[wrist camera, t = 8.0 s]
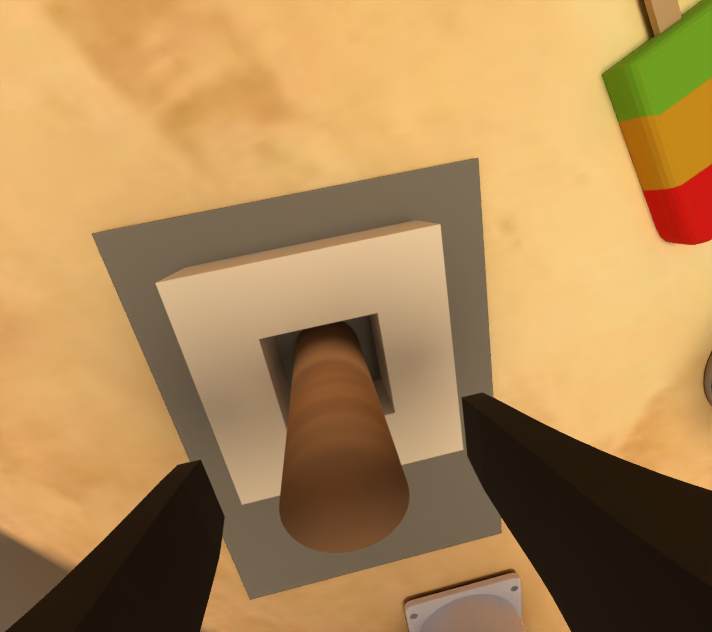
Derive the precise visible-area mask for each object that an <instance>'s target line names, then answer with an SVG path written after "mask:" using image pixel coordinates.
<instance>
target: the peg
mask: <svg viewBox="0 0 712 632" xmlns="http://www.w3.org/2000/svg"><path fill="white" fill-rule="evenodd" d="M409 497H410V493H409V487H408V483H407V480H406V477H405V474H404V471H403V468H402V465H401V462H400V459H399V456H398V454H397V451H396V448H395V445H394V442H393V439H392V436H391V433H390V430H389V427H388V424H387V422H386V419H385V416H384V413H383V410H382V407H381V404H380V401H379V398H378V395H377V392H376V390H375V387H374V384H373V381H372V378H371V375H370V372H369V369H368V366H367V363H366V360H365V358H364V355H363V352H362V349H361V346H360V343H359V340H358V337H357V335H356V333H355V331H354V330H353V329H352V327H350V326H349V325H348V324H347V323H345V322H343V321H339V322H334V323H330V324H325V325H321V326H316V327H311V328H307V329H303V330H302V331H301V332H300V334H299V336H298V338H297V341H296V349H295V358H294V368H293V377H292V387H291V396H290V406H289V415H288V425H287V435H286V444H285V454H284V463H283V473H282V482H281V492H280V501H279V514H280V518H281V522H282V524H283V526H284V528H285V529H286V531H287V532H288V533H289V535H290V536H291V537H292V538H293V539H295V540H296V541H297V542H299V543H300V544H302V545H304V546H306V547H308V548H310V549H313V550H317V551H321V552H326V553H346V552H353V551H357V550H361V549H364V548H367V547H369V546H372V545H374V544H376V543H377V542H379V541H381V540H382V539H384V538H385V537H387V536H388V535H389V534H390V533H391V532H393V531H394V529H395V528H396V527H397V526H398V525H399V524H400V522H401V521H402V519H403V517H404V516H405V514H406V511H407V509H408V505H409Z"/></svg>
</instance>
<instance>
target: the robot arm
mask: <svg viewBox="0 0 712 632" xmlns="http://www.w3.org/2000/svg"><path fill="white" fill-rule="evenodd" d="M462 407H463V418H464V428H465V438H466V448H467V457H468V459H469V461H470V463H471V465H472V467H473V469H474V471H475V473H476V475H477V477H478V479H479V481H480V483H481V485H482V487H483V489H484V491H485V492H486V494H487V496H488V497H489V499H490V500H491V502H492V503H493V505H494V507H495V508H496V510H497V511H498V513H499V514H500V516H501V517H502V519H503V521H504V522H505V524H506V525H507V527H508V528H509V530H510V531H511V533H512V534H513V536H514V537H515V539H516V540H517V542H518V543H519V545H520V547H521V548H522V550H523V551H524V553H525V554H526V556H527V557H528V559H529V560H530V562H531V563H532V565H533V566H534V568H535V570H536V571H537V573H538V574H539V576H540V577H541V579H542V581H543V582H544V584H545V586H546V587H547V589H548V591H549V592H550V594H551V595H552V597H553V599H554V601H555V603H556V604H557V606H558V608H559V610H560V612H561V614H562V615H563V617H564V619H565V621H566V623H567V625H568V626H569V628H570V630H571V632H712V491H711V490H708V489H705V488H702V487H698V486H695V485H692V484H689V483H686V482H683V481H680V480H677V479H674V478H671V477H668V476H666V475H663V474H660V473H657V472H655V471H652V470H649V469H647V468H644V467H641V466H639V465H636V464H633V463H631V462H628V461H626V460H623V459H620V458H618V457H616V456H613V455H611V454H608V453H606V452H603V451H601V450H599V449H597V448H594V447H592V446H590V445H588V444H585V443H583V442H581V441H579V440H576V439H574V438H572V437H570V436H568V435H566V434H564V433H561V432H559V431H557V430H555V429H553V428H551V427H549V426H547V425H545V424H543V423H541V422H539V421H537V420H535V419H533V418H531V417H529V416H527V415H526V414H524V413H522V412H520V411H518V410H516V409H514V408H512V407H510V406H508V405H507V404H505V403H503V402H501V401H499V400H497V399H495V398H493V397H491V396H489V395H487V394H485V393H483V392H482V393H478V394H473V395H469V396H465V397H462ZM224 520H225V516H224V514H223V511H222V509H221V506H220V504H219V502H218V499H217V497H216V494H215V492H214V490H213V487H212V485H211V482H210V480H209V478H208V475H207V473H206V470H205V468H204V466H203V463H202V461H201V460H197V461H192V462H188V463H184V464H180V465H177V466H176V467H175V468H174V469H173V470H172V471H171V472H170V473H169V474H168V475H167V476H166V477H165V478H164V479H163V480H162V481H161V482H160V483H159V484H158V485H157V486H156V487H155V488H154V489H153V490H152V491H151V492H150V493H149V494H148V495H147V496H146V497H145V498H144V499H143V500H142V501H141V502H140V503H139V504H138V505H137V506H136V507H135V508H134V509H133V510H132V511H131V512H130V513H129V514H128V516H127V517H126V518H125V519H124V520H123V521H122V522H121V523H120V524H119V525H118V526H117V527H116V528H115V529H114V530H113V531H112V532H111V533H110V534H109V535H108V536H107V537H106V538H105V539H104V540H103V541H102V542H101V543H100V544H99V545H98V546H97V547H96V548H95V549H94V550H93V551H92V552H91V553H90V554H89V555H88V556H87V557H86V558H84V559H83V560H82V561H81V562H80V563H79V564H78V565H77V566H76V567H75V568H74V569H73V570H72V571H71V572H70V573H69V574H68V575H67V576H66V577H65V578H64V579H63V580H62V581H61V582H60V583H59V584H58V585H57V586H56V587H55V588H53V589H52V590H51V591H50V592H49V593H48V594H47V595H46V596H45V597H44V598H43V599H42V600H41V601H39V603H37V604H36V605H35V606H34V607H33V608H32V609H30V611H28V612H27V613H26V614H25V615H24V616H23V617H21V618H20V619H19V620H18V621H17V622H16V623H15V624H13V625H12V626H11V627H10V628H9V629H8V630H6V631H5V632H200V629H201V625H202V621H203V618H204V614H205V610H206V607H207V603H208V599H209V595H210V592H211V588H212V584H213V580H214V576H215V572H216V568H217V564H218V560H219V555H220V549H221V542H222V535H223V527H224ZM404 609H405V614H406V618H407V623H408V628H409V632H527V631H526V629H525V627H524V625H523V622H522V597H521V580H520V578H519V576H518V574H516V573H509V574H505V575H502V576H498V577H494V578H491V579H487V580H483V581H480V582H476V583H472V584H469V585H465V586H461V587H458V588H454V589H450V590H447V591H443V592H439V593H436V594H432V595H428V596H425V597H421V598H417V599H414V600H410V601H408V602H407V603H406V604H405V605H404Z"/></svg>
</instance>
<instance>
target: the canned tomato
mask: <svg viewBox="0 0 712 632" xmlns="http://www.w3.org/2000/svg"><path fill="white" fill-rule="evenodd" d="M704 385H705V392H706V395H707V397H708V400H709V402H710V403H711V404H712V354H711V356H710V358H709V360H708V364H707V367H706V371H705V380H704Z"/></svg>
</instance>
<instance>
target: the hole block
mask: <svg viewBox="0 0 712 632" xmlns="http://www.w3.org/2000/svg"><path fill="white" fill-rule="evenodd" d="M155 284H156V286H157V289H158V291H159V294H160V296H161V299H162V302H163V304H164V307H165V309H166V312H167V314H168V317H169V320H170V322H171V325H172V327H173V330H174V332H175V335H176V337H177V340H178V343H179V345H180V348H181V350H182V353H183V355H184V358H185V360H186V363H187V366H188V368H189V371H190V373H191V376H192V378H193V381H194V383H195V386H196V389H197V391H198V394H199V396H200V399H201V401H202V404H203V406H204V409H205V412H206V414H207V417H208V419H209V422H210V424H211V427H212V429H213V432H214V435H215V437H216V440H217V442H218V445H219V447H220V450H221V452H222V455H223V458H224V460H225V463H226V465H227V468H228V470H229V473H230V475H231V478H232V481H233V483H234V486H235V488H236V491H237V493H238V496H239V498H240V501H241V504H242V505H243V504H247V503H251V502H255V501H259V500H263V499H267V498H271V497H275V496H279V495H280V492H281V482H282V473H283V463H284V454H285V444H286V435H287V425H288V415H289V406H290V396H291V392H290V389H289V385H288V382H287V378H286V375H285V371H284V368H283V364H282V361H281V357H280V354H279V350H278V347H277V343H276V340H275V337H274V336H275V335H280V334H284V333H289V332H293V331H298V330H302V329H307V328H311V327H316V326H321V325H325V324H330V323H334V322H339V321H343V320H348V319H352V318H357V317H361V316H366V315H370V320H371V326H372V331H373V337H374V342H375V348H376V353H377V359H378V364H379V369H380V375H381V379H377V380H372V381H373V384H374V387H375V390H376V392H377V395H378V398H379V401H380V404H381V407H382V410H383V413H384V416H385V419H386V422H387V424H388V427H389V430H390V433H391V436H392V439H393V442H394V445H395V448H396V451H397V454H398V456H399V459H400V462H401V465H404V464H408V463H412V462H416V461H420V460H424V459H428V458H432V457H436V456H440V455H444V454H448V453H452V452H456V451H460V450H463V442H462V432H461V422H460V412H459V402H458V392H457V383H456V373H455V363H454V353H453V343H452V334H451V324H450V314H449V304H448V294H447V284H446V275H445V265H444V255H443V245H442V235H441V226H440V224H436V223H430V222H424V221H418V220H414V221H409V222H404V223H400V224H395V225H390V226H385V227H380V228H375V229H370V230H365V231H360V232H356V233H351V234H346V235H341V236H336V237H331V238H326V239H321V240H317V241H312V242H307V243H302V244H297V245H292V246H287V247H282V248H278V249H273V250H268V251H263V252H258V253H253V254H248V255H243V256H239V257H234V258H229V259H224V260H219V261H214V262H209V263H204V264H200V265H195V266H190V267H185V268H183V269H181V270H179V271H178V272H176V273H174V274H172V275H170V276H168V277H166V278H164V279H162V280H160V281H158V282H156V283H155Z"/></svg>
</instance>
